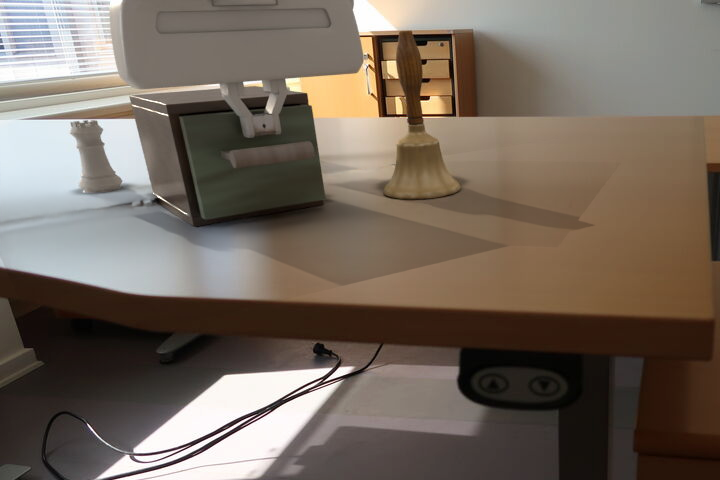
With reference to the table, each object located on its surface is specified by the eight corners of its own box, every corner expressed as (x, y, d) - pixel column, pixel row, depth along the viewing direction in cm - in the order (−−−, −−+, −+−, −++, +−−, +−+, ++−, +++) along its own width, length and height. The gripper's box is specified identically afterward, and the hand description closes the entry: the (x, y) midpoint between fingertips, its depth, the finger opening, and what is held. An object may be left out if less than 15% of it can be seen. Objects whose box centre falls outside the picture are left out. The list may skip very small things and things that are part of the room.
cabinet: (324, 204, 76) (307, 93, 71) (193, 227, 68) (165, 104, 64) (272, 184, 86) (255, 85, 82) (155, 201, 79) (128, 95, 75)
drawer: (346, 207, 70) (333, 108, 66) (221, 229, 63) (198, 121, 60) (276, 180, 83) (262, 97, 79) (167, 196, 77) (145, 106, 73)
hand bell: (445, 200, 76) (431, 30, 69) (370, 198, 78) (350, 32, 71) (470, 183, 83) (460, 28, 76) (402, 182, 85) (386, 30, 78)
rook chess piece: (73, 197, 82) (51, 123, 79) (113, 190, 85) (93, 118, 82) (94, 202, 80) (72, 125, 76) (134, 194, 83) (115, 120, 80)
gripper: (333, -35, 68) (354, 120, 74) (85, -39, 57) (132, 145, 63) (364, -41, 64) (383, 125, 70) (100, -46, 52) (150, 153, 58)
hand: (262, 135), depth 66 cm, fingers closed
